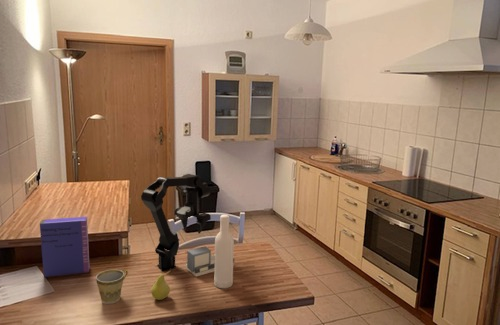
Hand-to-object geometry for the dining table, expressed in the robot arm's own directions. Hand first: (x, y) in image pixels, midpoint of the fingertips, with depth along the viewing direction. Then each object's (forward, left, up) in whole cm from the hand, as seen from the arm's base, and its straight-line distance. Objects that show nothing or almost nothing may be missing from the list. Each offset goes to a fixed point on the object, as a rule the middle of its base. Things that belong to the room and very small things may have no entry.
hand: (192, 231), depth 182 cm
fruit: (-28, -29, -12) cm, 42 cm away
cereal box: (-54, +12, -12) cm, 57 cm away
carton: (-5, -17, -10) cm, 20 cm away
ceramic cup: (-43, -19, -12) cm, 49 cm away
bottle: (-2, -32, -12) cm, 35 cm away
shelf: (+1, -16, -12) cm, 20 cm away
